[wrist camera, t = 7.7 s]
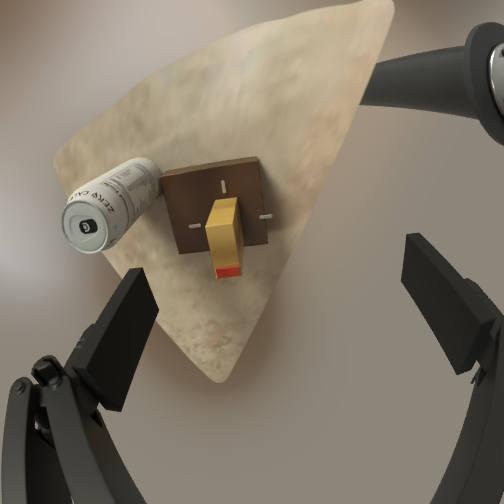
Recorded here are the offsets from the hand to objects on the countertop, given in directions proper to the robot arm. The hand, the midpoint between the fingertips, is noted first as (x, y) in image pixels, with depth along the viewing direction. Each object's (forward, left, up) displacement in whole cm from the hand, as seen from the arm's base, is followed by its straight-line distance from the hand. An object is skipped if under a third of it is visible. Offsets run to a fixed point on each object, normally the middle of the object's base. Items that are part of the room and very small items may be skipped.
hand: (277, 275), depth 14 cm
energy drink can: (+15, -1, -23) cm, 27 cm away
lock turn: (+4, +5, -20) cm, 21 cm away
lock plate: (+6, +3, -23) cm, 24 cm away
